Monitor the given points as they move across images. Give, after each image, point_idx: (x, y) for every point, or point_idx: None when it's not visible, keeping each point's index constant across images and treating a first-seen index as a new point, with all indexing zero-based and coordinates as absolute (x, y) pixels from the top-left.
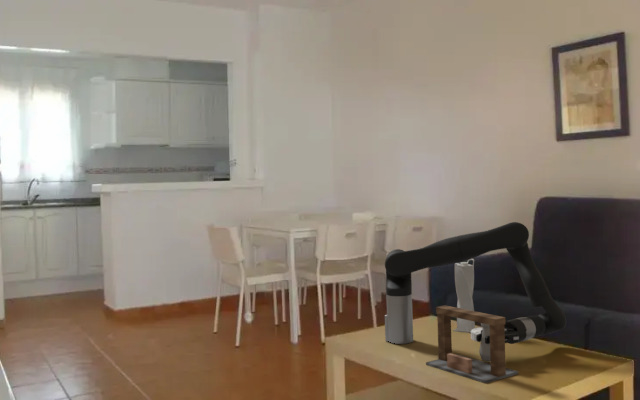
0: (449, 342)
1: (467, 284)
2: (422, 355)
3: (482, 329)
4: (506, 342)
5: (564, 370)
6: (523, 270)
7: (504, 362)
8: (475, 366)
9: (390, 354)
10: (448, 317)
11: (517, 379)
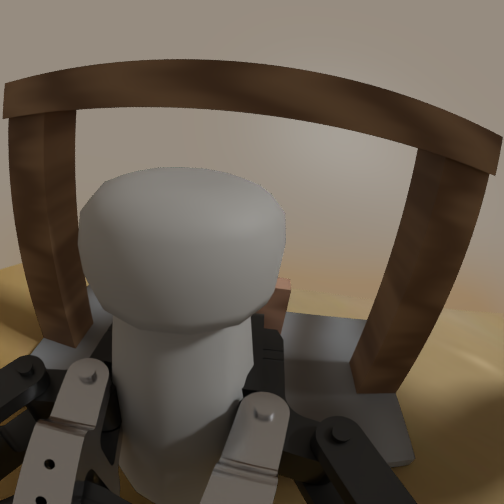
0: (385, 318)
1: None
2: (468, 377)
3: (388, 468)
4: (21, 421)
5: None
6: None
7: (33, 292)
8: None
9: (488, 329)
10: (429, 178)
11: (10, 344)
